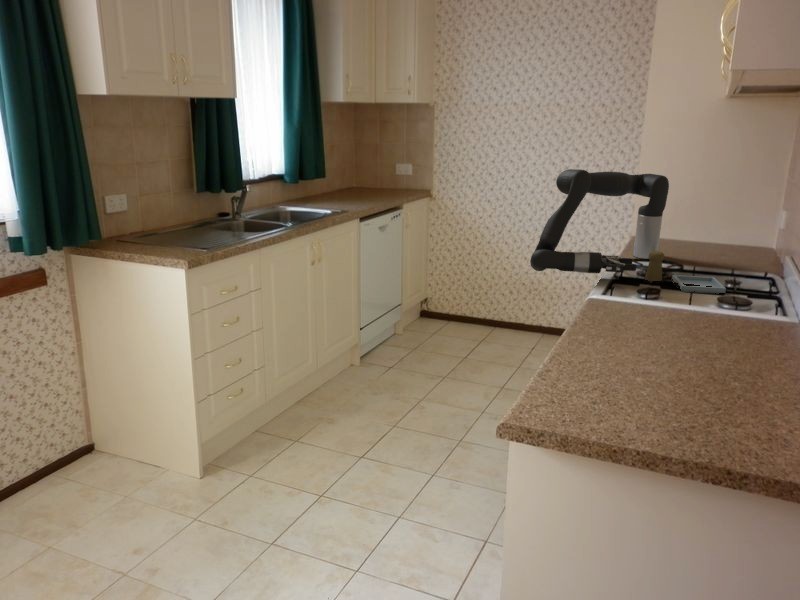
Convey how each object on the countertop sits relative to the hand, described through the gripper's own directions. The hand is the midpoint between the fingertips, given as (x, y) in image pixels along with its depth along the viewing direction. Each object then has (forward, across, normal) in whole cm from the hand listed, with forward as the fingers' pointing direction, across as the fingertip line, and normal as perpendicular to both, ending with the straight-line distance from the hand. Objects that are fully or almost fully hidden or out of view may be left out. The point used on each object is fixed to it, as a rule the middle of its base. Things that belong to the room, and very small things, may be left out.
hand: (633, 264), depth 233 cm
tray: (+21, -4, +6) cm, 22 cm away
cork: (+7, 0, +6) cm, 10 cm away
